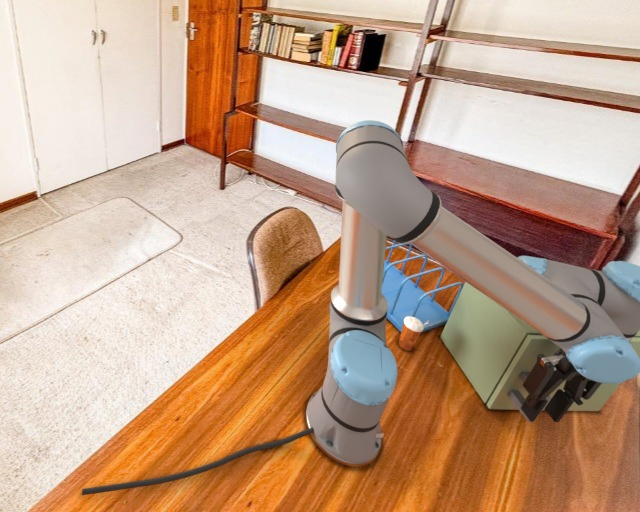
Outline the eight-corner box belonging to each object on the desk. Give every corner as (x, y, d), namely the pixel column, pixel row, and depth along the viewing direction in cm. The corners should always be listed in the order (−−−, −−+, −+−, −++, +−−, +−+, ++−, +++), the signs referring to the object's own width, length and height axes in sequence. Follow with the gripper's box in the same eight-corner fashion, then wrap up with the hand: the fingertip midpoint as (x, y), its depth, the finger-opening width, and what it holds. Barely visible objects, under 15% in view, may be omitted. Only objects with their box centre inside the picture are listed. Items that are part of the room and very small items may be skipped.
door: (624, 439, 85) (687, 368, 75) (508, 437, 85) (556, 365, 75) (594, 407, 92) (649, 337, 81) (486, 404, 91) (527, 334, 81)
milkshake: (420, 355, 102) (432, 328, 98) (398, 351, 103) (409, 324, 99) (414, 340, 106) (425, 313, 102) (393, 336, 107) (403, 310, 103)
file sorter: (344, 275, 128) (354, 237, 121) (385, 264, 134) (397, 227, 127) (406, 338, 107) (423, 296, 100) (452, 322, 112) (471, 281, 106)
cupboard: (593, 406, 92) (648, 336, 82) (484, 403, 92) (526, 332, 81) (532, 339, 108) (571, 274, 98) (439, 337, 108) (470, 271, 98)
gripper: (565, 353, 69) (511, 432, 79) (662, 357, 69) (596, 435, 79) (531, 319, 76) (485, 395, 86) (620, 322, 76) (564, 398, 86)
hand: (539, 414), depth 82 cm, fingers open, 4 cm apart
